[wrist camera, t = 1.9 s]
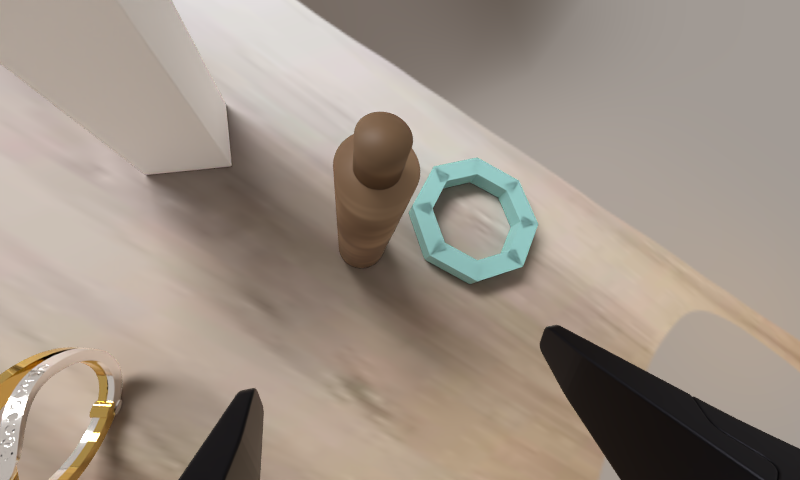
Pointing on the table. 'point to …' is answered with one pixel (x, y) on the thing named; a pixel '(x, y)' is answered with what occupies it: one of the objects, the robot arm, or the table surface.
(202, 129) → the milk
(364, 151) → the brown peg
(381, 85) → the table surface
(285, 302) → the table surface
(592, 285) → the table surface
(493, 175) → the teal faceted ring
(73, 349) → the ring
